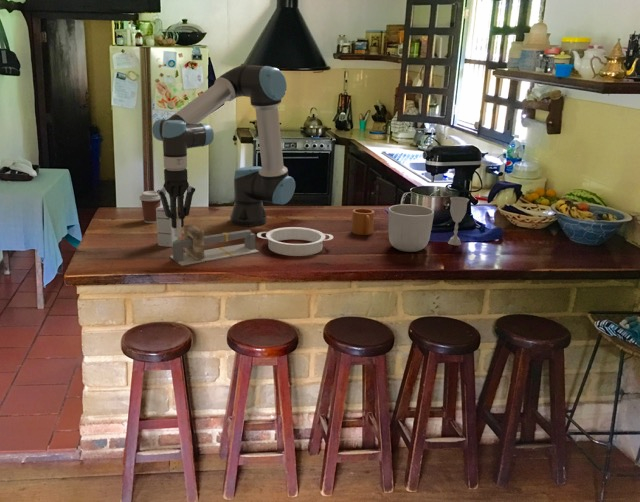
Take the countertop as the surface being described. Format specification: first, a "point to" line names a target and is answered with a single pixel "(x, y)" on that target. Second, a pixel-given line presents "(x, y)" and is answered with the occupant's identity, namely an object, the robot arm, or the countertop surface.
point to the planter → (409, 226)
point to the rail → (217, 252)
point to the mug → (362, 221)
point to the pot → (295, 233)
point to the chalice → (457, 215)
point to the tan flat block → (194, 241)
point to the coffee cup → (150, 205)
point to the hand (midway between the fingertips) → (178, 236)
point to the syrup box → (164, 229)
